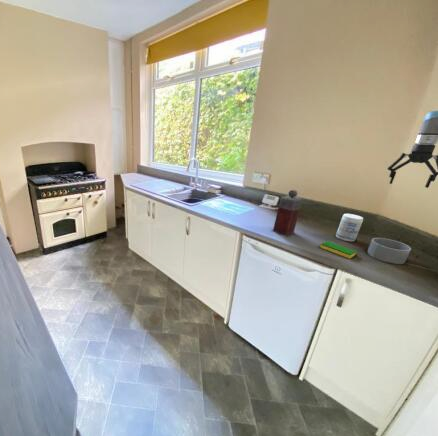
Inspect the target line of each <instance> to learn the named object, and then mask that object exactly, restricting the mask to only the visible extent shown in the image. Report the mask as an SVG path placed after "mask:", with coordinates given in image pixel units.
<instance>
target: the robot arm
mask: <svg viewBox="0 0 438 436" xmlns="http://www.w3.org/2000/svg"><path fill="white" fill-rule="evenodd" d="M436 144H438V110H431V111H428V112H427V113H426V115H425V117H424V118H423V121H422V123H421V126H420V129H419V132H418V134H417V136H416V139H415V140H414V144H413V146H412V148H411V151H410V153H405V152H402V153H401V154H400V156H399V157H398V158H397V159H396V160H395V161H394V162H393V163H391V164H390V165H389V166H388V167H387V170H388V171H390V173H389V175H388V176H389V178H390V180H389V184H390V185H392V184H393V182H394V180H395V177H396V174H397V171H398V170H400V169H401V168H403V167H405V166H406V165H408V164H409V163H413V164H425V165H426V167H427V168H428V169H429V171H430V172H431V173H432V174H431V173H430V174H429V177H428V179H427V181H426V183H425V185H424V187H425V189H426V188H427V189H428V188H429V187H430V185H431V182H435V180H436V178H437V176H438V171H437V170H436V169H435V168H434V166H433V165H432V164H431V162H430V161H429V160H431V159H432V158H433V160H434V162H435V164H436V168H437V169H438V154H434V151H435V148H436ZM407 157H408V159H407V160H405V161H403V162H402V163H400V162H401V161H402V160H403V159H404V158H407ZM399 163H400V164H399ZM397 164H398V165H397Z"/></svg>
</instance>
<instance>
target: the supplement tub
mask: <svg viewBox="0 0 438 436" xmlns="http://www.w3.org/2000/svg"><path fill="white" fill-rule="evenodd" d="M363 222H364V217H363V216H362V215H361V216H360V215H357V214H352V213H344V214H342V217H341V219H340V223H339V225H338V229H337V231H336V234H335V237H336V238H337V239H339V240H341V241H344V242H355V241H356V240H357V237H358V235H359V232H360V230H361V227H362V224H363Z"/></svg>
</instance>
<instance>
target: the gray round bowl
mask: <svg viewBox="0 0 438 436" xmlns="http://www.w3.org/2000/svg"><path fill="white" fill-rule="evenodd" d="M411 251H412V248H411V246H409V245H408V244H406V243H403V242H401V241H398V240H394V239H390V238H384V237H373V238H371V240H370V243H369V245H368V248H367V254H368V255H369V256H370V257H372V258H374V259H375V260H379V261H381V262H385V263H389V264H395V265H403V264H405V263H406V262H407V260H408V258H409V255H410V253H411Z"/></svg>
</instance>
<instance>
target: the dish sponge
mask: <svg viewBox="0 0 438 436" xmlns="http://www.w3.org/2000/svg"><path fill="white" fill-rule="evenodd" d="M320 249H323V250H326V251H327V252H331V253H334V254H337V255H338V256H341V257H344V258H347V259H351V258H353V257H355V256H356V254H357V250H353V249H351V248H348V247H345V246H343V245H339V244H337V243H334V242H331V241H328V240H326V241H324V242H322V243H321V244H320Z"/></svg>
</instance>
